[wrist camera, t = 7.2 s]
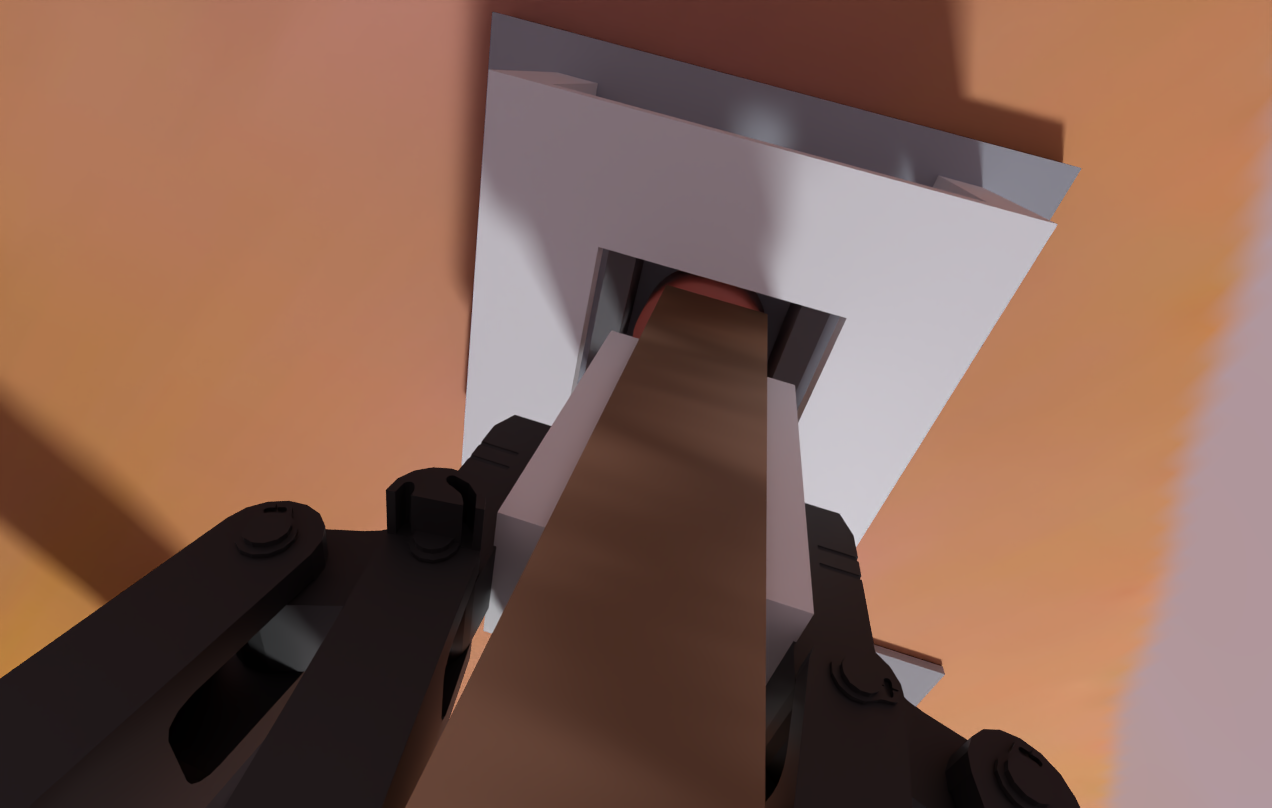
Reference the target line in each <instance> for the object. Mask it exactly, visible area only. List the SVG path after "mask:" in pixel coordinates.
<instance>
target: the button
mask: <svg viewBox="0 0 1272 808" xmlns="http://www.w3.org/2000/svg"><path fill="white" fill-rule="evenodd" d="M666 285H669V286H673V287H676V288H680V289H683V290H687V291H690V292H693V293H697V294H700V295H704V296H707V297H711V298H714V299H718V300H721V301H725V302H728V303H731V304H735V305H738V306H742V307H745V308H749V309H752V310H756V311H759V312H762V313H764V310H763V306H762V304H761V301H760V299H759V297H758V295H757V294H756V292H754V291H750V290H747V289H743V288H740V287H736V286H733V285H729V284H726V283H722V282H719V281H715V280H712V279H709V278H705V277H702V276H698V275H695V274H691V273H688V272H684V271H681V270H678V271H676V272H674V273H672V274H671V275H669V276H668V277H666V278H665V279H664V280H663V281H661V282H660V283H659V284H658V285H657V287H656V288H655V289H654V291H653V292H652V294H651V295H650V297H649V299H648V301H647V303H646V304H645V306H644V308H643V310H642V312H641V314H640V316H639V318H638V320H637V322H636V325H635V328H634V332H633V337H635V338H638V339H639V338H640V336H641V334H642V332H643V330H644V328H645V326H646V324H647V322H648V320H649V318H650V316H651V314H652V312H653V310H654V308H655V306H656V304H657V302H658V300H659V298H660V296H661V294H662V292H663V290H664V288H665V286H666Z"/></svg>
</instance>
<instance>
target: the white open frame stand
mask: <svg viewBox="0 0 1272 808" xmlns="http://www.w3.org/2000/svg"><path fill="white" fill-rule="evenodd" d="M1080 170H1081V168H1079V167H1075V166H1072V165H1068V164H1065V163H1061V162H1057V161H1053V160H1049V159H1046V158H1042V157H1038V156H1034V155H1031V154H1027V153H1023V152H1019V151H1016V150H1012V149H1008V148H1004V147H1001V146H997V145H993V144H989V143H986V142H982V141H978V140H974V139H970V138H967V137H963V136H959V135H955V134H952V133H948V132H944V131H940V130H937V129H933V128H929V127H925V126H922V125H918V124H914V123H910V122H907V121H903V120H899V119H895V118H891V117H888V116H884V115H880V114H876V113H873V112H869V111H865V110H861V109H858V108H854V107H850V106H846V105H843V104H839V103H835V102H831V101H828V100H824V99H820V98H816V97H812V96H809V95H805V94H801V93H797V92H794V91H790V90H786V89H782V88H779V87H775V86H771V85H767V84H764V83H760V82H756V81H752V80H749V79H745V78H741V77H737V76H733V75H730V74H726V73H722V72H718V71H715V70H711V69H707V68H703V67H700V66H696V65H692V64H688V63H685V62H681V61H677V60H673V59H670V58H666V57H662V56H658V55H654V54H651V53H647V52H643V51H639V50H636V49H632V48H628V47H624V46H621V45H617V44H613V43H609V42H606V41H602V40H598V39H594V38H590V37H587V36H583V35H579V34H575V33H572V32H568V31H564V30H560V29H557V28H553V27H549V26H545V25H542V24H538V23H534V22H530V21H527V20H523V19H519V18H515V17H511V16H508V15H504V14H500V13H496V12H492V23H491V38H490V53H489V68H488V82H487V97H486V112H485V126H484V141H483V156H482V171H481V185H480V200H479V215H478V230H477V244H476V259H475V274H474V288H473V303H472V318H471V333H470V347H469V362H468V377H467V391H466V406H465V421H464V438H463V453H462V465H463V464H464V463H465V462H466V460H467V459H468V458H470V457H471V454H472V453H473V452H474V450H475V449H476V448H477V446H478V445H481V442H482V440H483V439H484V438H485V436H486V435H487V434H488V433H489V431H490V430H491V429H492V428H493V426H494V425H496V424H498V423H500V422H502V421H504V420H506V419H508V418H509V417H511V416H513V415H518V416H521V417H524V418H527V419H530V420H534V421H537V422H540V423H543V424H547V425H550V426H552V424H553V423H554V421H555V420H556V418H557V416H558V415H559V413H560V412H561V410H562V408H563V407H564V405H565V404H566V402H567V400H568V399H569V397H570V396H571V394H572V392H573V391H574V389H575V388H576V386H577V384H578V383H579V381H580V380H581V378H582V376H583V375H584V373H585V372H586V370H587V368H588V367H589V365H590V364H591V362H592V360H593V359H594V357H595V356H596V354H597V352H598V351H599V349H600V348H601V346H602V344H603V343H604V341H605V340H606V338H607V336H608V335H609V333H610V332H611V331H615V332H618V333H621V334H625V335H628V336H632V337H633V332H634V328H635V325H636V322H637V320H638V318H639V316H640V314H641V312H642V310H643V308H644V306H645V304H646V303H647V301H648V299H649V297H650V295H651V294H652V292H653V291H654V289H655V288H656V287H657V285H658V284H659V283H660V282H661V281H663V280H664V279H665V278H666V277H668V276H669V275H671V274H672V273H674V272H676V271H678V270H681V271H684V272H688V273H691V274H695V275H698V276H702V277H705V278H709V279H712V280H715V281H719V282H722V283H726V284H729V285H733V286H736V287H740V288H743V289H747V290H750V291H754V292H756V294H757V295H758V297H759V299H760V301H761V304H762V306H763V310H764V313H766V314H768V327H767V377H769V378H773V379H776V380H779V381H783V382H786V383H790V384H793V385H795V392H796V404H797V416H798V428H799V440H800V452H801V464H802V476H803V488H804V500H805V503H807V504H810V505H814V506H817V507H820V508H823V509H827V510H830V511H833V512H836V513H839V514H840V515H841V516H842V518H843V520H844V521H845V523H846V524H847V526H848V527H849V529H850V531H851V532H852V534H853V535H854V540H855V545H856V546H857V545H858V543H859V542H860V540H861V538H862V537H863V535H864V534H865V532H866V530H867V529H868V527H869V526H870V524H871V522H872V521H873V519H874V518H875V516H876V514H877V513H878V511H879V510H880V508H881V506H882V505H883V503H884V502H885V500H886V498H887V497H888V495H889V494H890V492H891V490H892V489H893V487H894V486H895V484H896V482H897V481H898V479H899V478H900V476H901V474H902V473H903V471H904V470H905V468H906V466H907V465H908V463H909V462H910V460H911V458H912V457H913V455H914V454H915V452H916V450H917V449H918V447H919V446H920V444H921V442H922V441H923V439H924V438H925V436H926V434H927V433H928V431H929V429H930V428H931V426H932V425H933V423H934V421H935V420H936V418H937V417H938V415H939V413H940V412H941V410H942V409H943V407H944V405H945V404H946V402H947V401H948V399H949V397H950V396H951V394H952V393H953V391H954V389H955V388H956V386H957V385H958V383H959V381H960V380H961V378H962V377H963V375H964V373H965V372H966V370H967V369H968V367H969V365H970V364H971V362H972V361H973V359H974V357H975V356H976V354H977V353H978V351H979V349H980V348H981V346H982V345H983V343H984V341H985V340H986V338H987V337H988V335H989V333H990V332H991V330H992V329H993V327H994V325H995V324H996V322H997V321H998V319H999V317H1000V316H1001V314H1002V313H1003V311H1004V309H1005V308H1006V306H1007V305H1008V303H1009V301H1010V300H1011V298H1012V297H1013V295H1014V293H1015V292H1016V290H1017V289H1018V287H1019V285H1020V284H1021V282H1022V281H1023V279H1024V277H1025V276H1026V274H1027V273H1028V271H1029V269H1030V268H1031V266H1032V265H1033V263H1034V261H1035V260H1036V258H1037V256H1038V255H1039V253H1040V252H1041V250H1042V248H1043V247H1044V245H1045V244H1046V242H1047V240H1048V239H1049V237H1050V236H1051V234H1052V232H1053V231H1054V229H1055V228H1056V226H1057V224H1056V223H1054V222H1052V221H1050V219H1051V217H1052V216H1053V214H1054V212H1055V211H1056V209H1057V207H1058V206H1059V204H1060V203H1061V201H1062V199H1063V198H1064V196H1065V194H1066V193H1067V191H1068V190H1069V188H1070V186H1071V185H1072V183H1073V181H1074V180H1075V178H1076V176H1077V175H1078V173H1079V172H1080Z"/></svg>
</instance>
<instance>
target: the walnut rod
mask: <svg viewBox="0 0 1272 808" xmlns="http://www.w3.org/2000/svg"><path fill="white" fill-rule="evenodd" d="M767 327H768V314H766V313H762V312H759V311H756V310H752V309H749V308H745V307H742V306H738V305H735V304H731V303H728V302H725V301H721V300H718V299H714V298H711V297H707V296H704V295H700V294H697V293H693V292H690V291H687V290H683V289H680V288H676V287H673V286H669V285H666V286H665V288H664V290H663V292H662V294H661V296H660V298H659V300H658V302H657V304H656V306H655V308H654V310H653V312H652V314H651V316H650V318H649V320H648V322H647V324H646V326H645V328H644V330H643V332H642V334H641V336H640V338H639V340H638V342H637V344H636V346H635V348H634V350H633V352H632V354H631V356H630V358H629V360H628V362H627V364H626V366H625V368H624V370H623V372H622V374H621V376H620V378H619V380H618V382H617V384H616V386H615V388H614V390H613V392H612V394H611V396H610V398H609V400H608V402H607V404H606V406H605V408H604V410H603V412H602V414H601V416H600V418H599V420H598V422H597V424H596V426H595V428H594V430H593V432H592V434H591V436H590V438H589V440H588V442H587V445H586V447H585V449H584V451H583V453H582V455H581V457H580V459H579V461H578V463H577V465H576V467H575V469H574V471H573V473H572V475H571V477H570V479H569V481H568V483H567V485H566V487H565V489H564V491H563V493H562V495H561V497H560V499H559V501H558V503H557V505H556V507H555V509H554V511H553V513H552V515H551V517H550V519H549V521H548V523H547V525H546V527H545V529H544V531H543V533H542V535H541V537H540V539H539V541H538V543H537V545H536V547H535V549H534V551H533V553H532V555H531V557H530V559H529V561H528V563H527V565H526V567H525V569H524V571H523V573H522V575H521V577H520V579H519V581H518V583H517V585H516V587H515V589H514V591H513V593H512V595H511V597H510V599H509V601H508V603H507V605H506V607H505V609H504V611H503V613H502V615H501V617H500V619H499V621H498V623H497V625H496V627H495V629H494V631H493V633H492V635H491V637H490V639H489V641H488V643H487V645H486V647H485V649H484V651H483V653H482V655H481V657H480V659H479V661H478V663H477V665H476V667H475V669H474V671H473V673H472V675H471V677H470V679H469V681H468V683H467V685H466V687H465V689H464V691H463V693H462V695H461V697H460V699H459V701H458V703H457V705H456V707H455V709H454V711H453V713H452V715H451V717H450V719H449V721H448V723H447V725H446V727H445V729H444V731H443V733H442V735H441V737H440V739H439V741H438V743H437V745H436V747H435V749H434V751H433V753H432V755H431V757H430V759H429V761H428V763H427V765H426V767H425V769H424V771H423V773H422V775H421V777H420V779H419V781H418V783H417V785H416V787H415V789H414V791H413V793H412V795H411V797H410V799H409V801H408V803H407V805H406V807H405V808H765V731H766V529H767Z"/></svg>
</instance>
